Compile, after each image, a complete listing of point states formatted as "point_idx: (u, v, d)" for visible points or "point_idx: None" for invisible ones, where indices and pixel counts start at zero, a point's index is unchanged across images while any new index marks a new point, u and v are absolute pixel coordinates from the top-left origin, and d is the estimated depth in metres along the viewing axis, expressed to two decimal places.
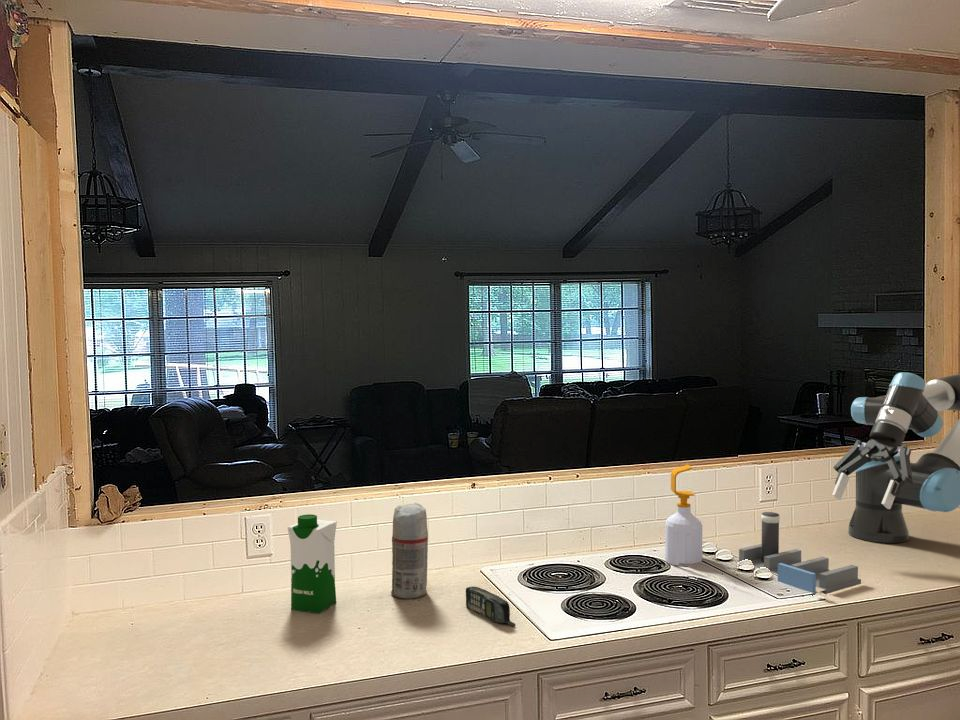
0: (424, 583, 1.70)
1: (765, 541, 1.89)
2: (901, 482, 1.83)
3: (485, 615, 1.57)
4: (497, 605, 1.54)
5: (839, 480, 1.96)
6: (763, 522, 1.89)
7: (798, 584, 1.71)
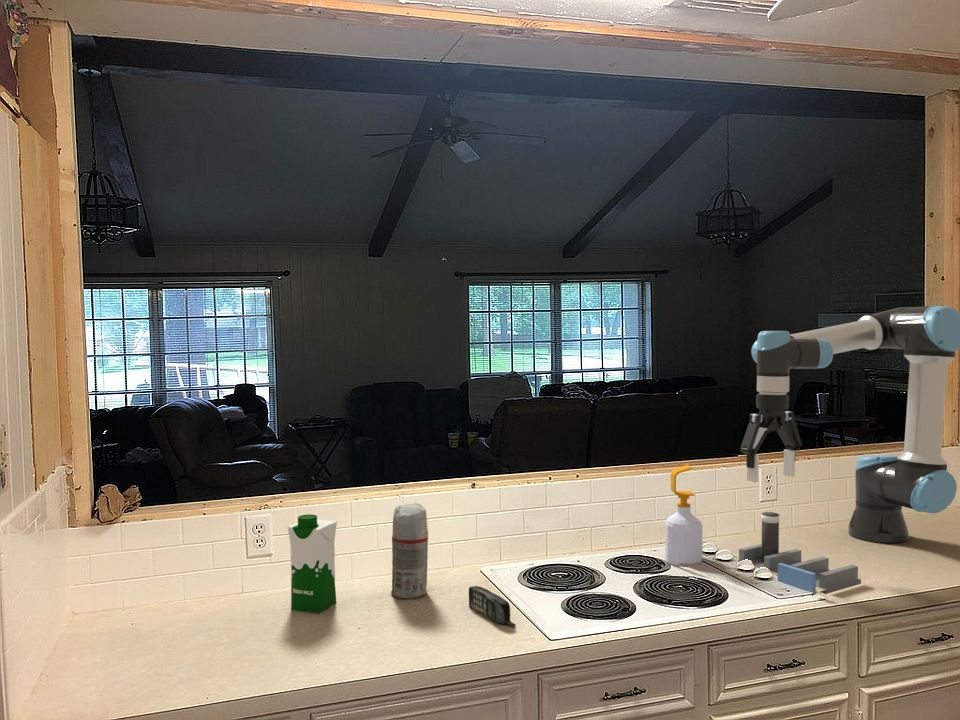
0: (424, 583, 1.70)
1: (765, 541, 1.89)
2: (747, 454, 1.85)
3: (486, 615, 1.57)
4: (498, 605, 1.54)
5: None
6: (763, 522, 1.89)
7: (798, 584, 1.71)
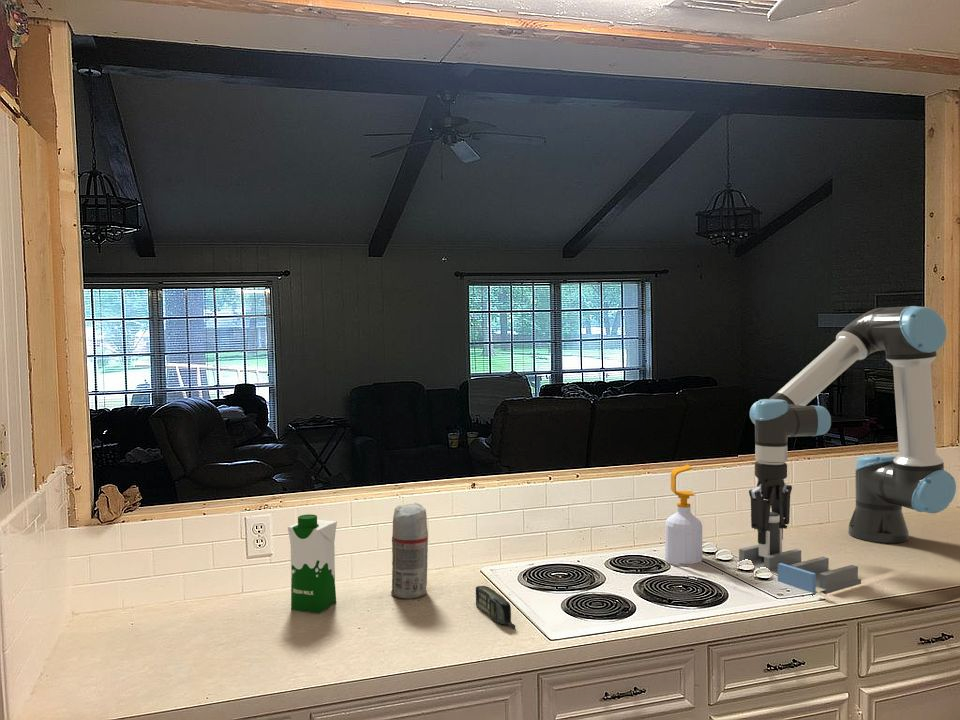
0: (424, 583, 1.70)
1: None
2: (758, 530, 1.88)
3: (490, 615, 1.57)
4: (499, 605, 1.53)
5: None
6: None
7: (798, 584, 1.71)
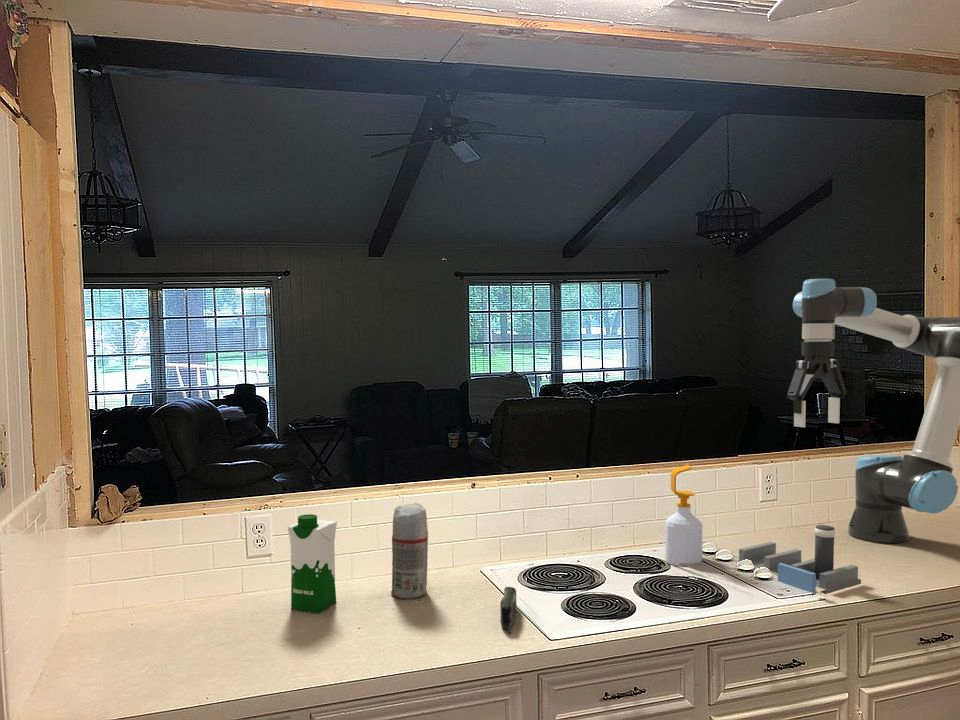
0: (424, 583, 1.70)
1: (819, 557, 1.76)
2: (794, 400, 1.88)
3: None
4: (501, 608, 1.52)
5: None
6: (817, 536, 1.76)
7: (798, 584, 1.71)
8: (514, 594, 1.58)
